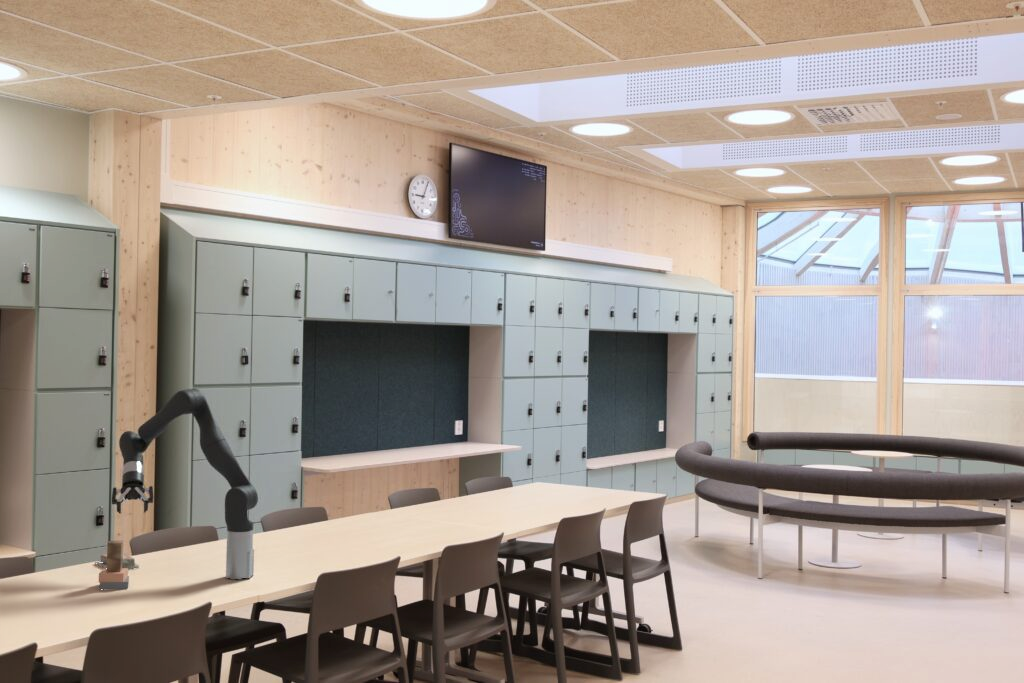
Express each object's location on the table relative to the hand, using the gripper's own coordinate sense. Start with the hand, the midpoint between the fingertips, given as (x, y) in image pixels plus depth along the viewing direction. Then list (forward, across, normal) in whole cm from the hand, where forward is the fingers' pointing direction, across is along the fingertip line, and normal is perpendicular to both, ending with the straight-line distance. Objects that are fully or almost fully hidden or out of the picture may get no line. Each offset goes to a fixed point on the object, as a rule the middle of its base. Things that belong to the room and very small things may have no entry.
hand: (132, 511), depth 352 cm
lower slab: (+26, -5, +8) cm, 28 cm away
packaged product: (+2, -5, +32) cm, 32 cm away
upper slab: (+24, -6, +6) cm, 26 cm away
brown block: (+22, -6, +4) cm, 23 cm away
